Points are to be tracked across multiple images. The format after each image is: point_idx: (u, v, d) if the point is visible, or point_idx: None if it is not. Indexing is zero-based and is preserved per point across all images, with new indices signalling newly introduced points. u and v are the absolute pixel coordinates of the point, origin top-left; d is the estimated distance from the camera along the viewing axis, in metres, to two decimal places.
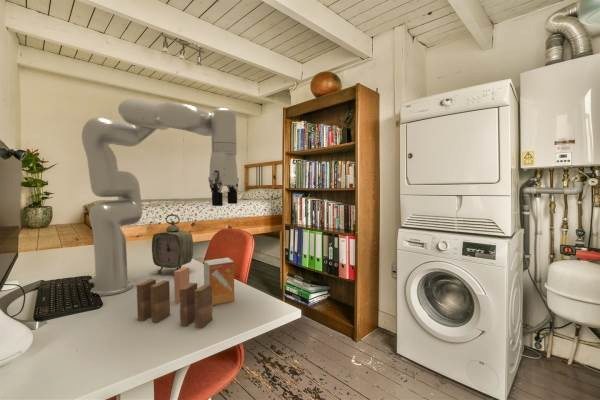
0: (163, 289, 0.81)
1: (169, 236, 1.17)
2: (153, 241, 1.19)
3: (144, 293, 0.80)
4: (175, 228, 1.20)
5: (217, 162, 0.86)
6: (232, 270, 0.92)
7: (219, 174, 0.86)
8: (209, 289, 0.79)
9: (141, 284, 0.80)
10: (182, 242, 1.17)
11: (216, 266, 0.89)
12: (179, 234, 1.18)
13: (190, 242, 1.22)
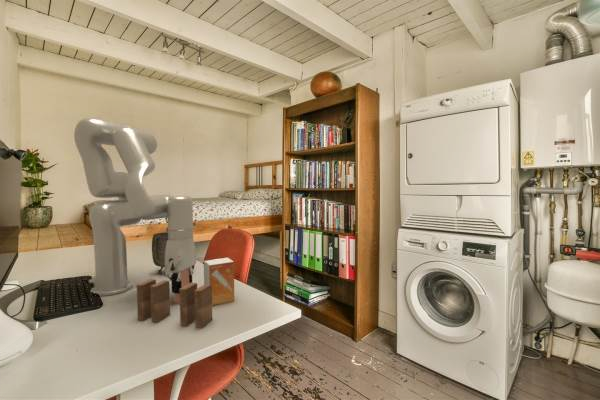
0: (163, 289, 0.81)
1: None
2: (153, 241, 1.19)
3: (144, 293, 0.80)
4: None
5: (172, 250, 0.89)
6: (232, 270, 0.92)
7: (173, 262, 0.89)
8: (209, 289, 0.79)
9: (141, 284, 0.80)
10: None
11: (216, 266, 0.89)
12: None
13: None
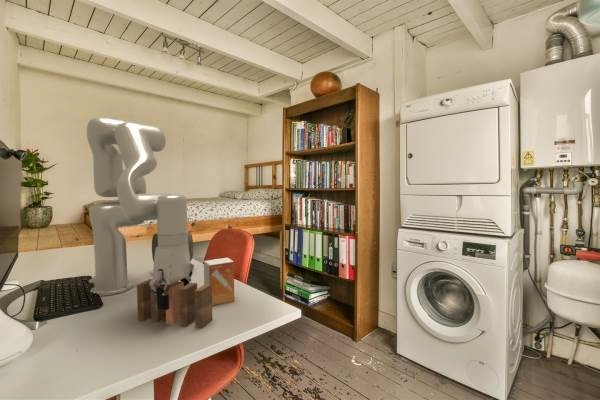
0: (163, 289, 0.81)
1: None
2: (153, 241, 1.19)
3: (144, 293, 0.80)
4: None
5: (161, 259, 0.74)
6: (232, 270, 0.92)
7: (164, 273, 0.74)
8: (209, 289, 0.79)
9: (141, 284, 0.80)
10: None
11: (216, 266, 0.89)
12: None
13: (190, 242, 1.22)
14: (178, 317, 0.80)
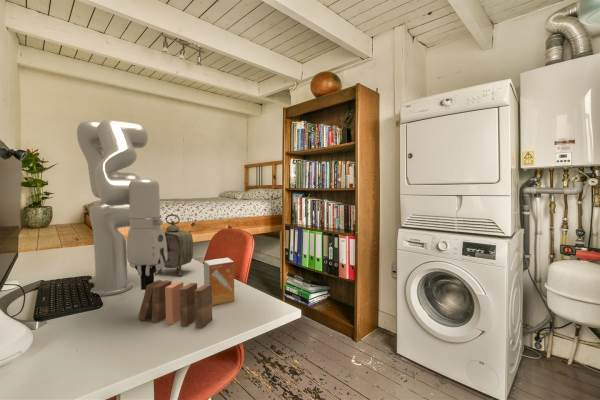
0: None
1: (169, 236, 1.17)
2: None
3: (151, 295, 0.79)
4: (175, 228, 1.20)
5: None
6: (232, 270, 0.92)
7: None
8: (209, 289, 0.79)
9: (151, 286, 0.79)
10: (182, 242, 1.17)
11: (216, 266, 0.89)
12: (179, 234, 1.18)
13: (190, 242, 1.21)
14: (178, 317, 0.80)
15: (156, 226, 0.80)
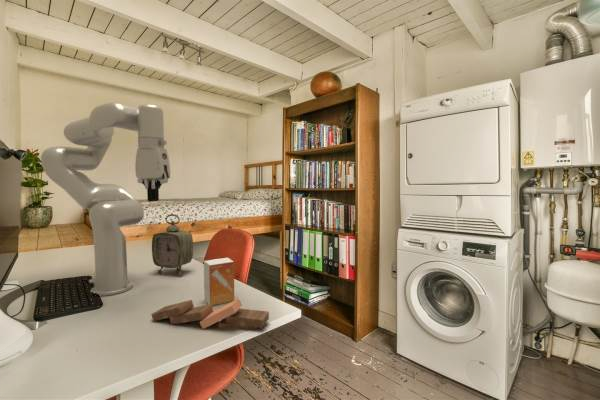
0: None
1: (169, 236, 1.17)
2: (153, 241, 1.19)
3: None
4: (175, 228, 1.20)
5: None
6: (232, 270, 0.92)
7: None
8: None
9: (182, 310, 0.77)
10: (182, 242, 1.17)
11: (216, 266, 0.89)
12: (179, 234, 1.18)
13: (190, 242, 1.21)
14: None
15: (161, 146, 0.93)
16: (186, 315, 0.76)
